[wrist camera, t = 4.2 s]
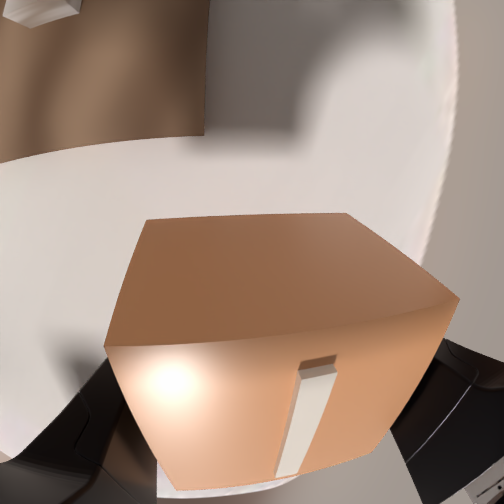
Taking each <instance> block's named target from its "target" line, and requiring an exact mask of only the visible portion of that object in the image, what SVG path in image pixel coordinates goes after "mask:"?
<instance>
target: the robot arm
mask: <svg viewBox="0 0 504 504" xmlns="http://www.w3.org/2000/svg"><path fill="white" fill-rule="evenodd" d="M79 392H80V393H79ZM79 392H78V393H77V394H76V395H75V396H74V398H73V399H72V400H71V401H70V402H69V404H68V405H67V406H66V407H65V408H64V409H63V410H62V412H61V413H60V414H59V415H58V416H57V417H56V418H55V419H54V420H53V421H52V422H51V423H50V424H49V425H48V426H47V427H46V428H45V429H44V430H43V431H42V432H41V433H40V434H39V435H38V436H37V437H36V438H35V439H34V440H33V441H32V442H31V443H30V444H29V445H28V446H27V447H26V448H25V449H24V450H23V451H22V452H21V453H20V454H19V455H17V456H16V457H15V458H13V459H11V460H9V461H7V462H3V463H0V504H157V459H156V457H155V456H154V454H153V452H152V450H151V449H150V447H149V445H148V443H147V441H146V440H145V438H144V436H143V434H142V432H141V430H140V428H139V426H138V424H137V422H136V420H135V418H134V416H133V414H132V412H131V410H130V408H129V406H128V404H127V402H126V399H125V397H124V395H123V393H122V391H121V388H120V386H119V384H118V381H117V379H116V376H115V374H114V372H113V369H112V367H111V364H110V362H109V359H108V357H107V358H106V359H105V361H104V362H103V363H102V364H101V365H100V367H99V368H98V369H97V370H96V371H95V372H94V374H93V375H92V376H91V377H90V378H89V380H88V381H87V382H86V383H85V384H84V386H83V387H82V388H81V389H80V391H79ZM390 430H391V433H392V435H393V437H394V439H395V441H396V443H397V446H398V448H399V450H400V452H401V455H402V457H403V459H404V461H405V463H406V466H407V468H408V471H409V473H410V475H411V477H412V479H413V482H414V484H415V486H416V489H417V491H418V493H419V496H420V498H421V501H422V503H423V504H440V503H442V502H443V501H445V500H446V499H448V498H450V497H451V496H453V495H454V494H455V493H457V492H458V491H460V490H461V489H463V488H464V489H465V491H466V492H467V494H468V496H469V497H470V499H471V501H472V502H473V504H474V503H477V504H504V362H501V361H498V360H496V359H493V358H490V357H487V356H485V355H483V354H480V353H477V352H475V351H472V350H470V349H467V348H465V347H463V346H461V345H458V344H456V343H454V342H452V341H450V340H448V339H445V338H443V339H442V341H441V343H440V345H439V347H438V349H437V351H436V353H435V355H434V357H433V359H432V361H431V362H430V364H429V366H428V368H427V370H426V372H425V373H424V375H423V377H422V379H421V380H420V382H419V384H418V385H417V387H416V389H415V391H414V392H413V394H412V395H411V397H410V399H409V400H408V402H407V403H406V405H405V406H404V408H403V410H402V411H401V413H400V414H399V416H398V417H397V418H396V420H395V421H394V423H393V424H392V426H391V427H390Z"/></svg>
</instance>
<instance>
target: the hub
mask: <svg viewBox="0 0 504 504" xmlns="http://www.w3.org/2000/svg"><path fill="white" fill-rule="evenodd" d="M459 300H460V299H459V298H458V297H457V296H456V295H455V294H454V293H452V292H451V291H450V290H449V289H448V288H447V287H445V286H444V285H443V284H441V283H440V282H439V281H438V280H437V279H435V278H434V277H433V276H432V275H430V274H429V273H428V272H427V271H425V270H424V269H423V268H422V267H420V266H419V265H418V264H416V263H415V262H414V261H413V260H411V259H410V258H409V257H407V256H406V255H405V254H403V253H402V252H401V251H399V250H398V249H397V248H395V247H394V246H393V245H391V244H390V243H388V242H387V241H386V240H384V239H383V238H382V237H380V236H379V235H377V234H376V233H375V232H373V231H372V230H370V229H369V228H367V227H366V226H365V225H363V224H362V223H360V222H359V221H357V220H356V219H354V218H353V217H352V216H350V215H349V214H347V213H301V214H258V215H230V216H207V217H187V218H169V219H153V220H146V222H145V225H144V227H143V230H142V232H141V235H140V237H139V240H138V242H137V245H136V248H135V250H134V253H133V256H132V258H131V261H130V264H129V267H128V270H127V272H126V275H125V278H124V281H123V284H122V287H121V290H120V293H119V296H118V299H117V303H116V306H115V309H114V312H113V315H112V319H111V322H110V326H109V329H108V333H107V336H106V340H105V343H104V348H105V351H106V354H107V356H108V359H109V362H110V364H111V367H112V369H113V372H114V374H115V376H116V379H117V381H118V384H119V386H120V388H121V391H122V393H123V395H124V397H125V399H126V402H127V404H128V406H129V408H130V410H131V412H132V414H133V416H134V418H135V420H136V422H137V424H138V426H139V428H140V430H141V432H142V434H143V436H144V438H145V440H146V441H147V443H148V445H149V447H150V449H151V450H152V452H153V454H154V456H155V457H156V459H157V461H158V463H159V464H160V466H161V468H162V469H163V471H164V472H165V474H166V476H167V477H168V479H169V480H170V482H171V483H172V485H173V487H174V488H175V490H176V491H179V490H203V489H216V488H227V487H235V486H243V485H250V484H256V483H263V482H268V481H273V480H279V479H283V478H288V477H293V476H297V475H301V474H305V473H309V472H313V471H316V470H320V469H323V468H327V467H330V466H334V465H337V464H340V463H343V462H346V461H349V460H352V459H355V458H358V457H361V456H363V455H366V454H368V453H371V452H372V451H373V450H374V448H375V447H376V446H377V445H378V443H379V442H380V441H381V439H382V438H383V437H384V435H385V434H386V432H387V431H388V430H389V428H390V427H391V426H392V424H393V423H394V421H395V420H396V418H397V417H398V416H399V414H400V413H401V411H402V410H403V408H404V406H405V405H406V403H407V402H408V400H409V399H410V397H411V395H412V394H413V392H414V391H415V389H416V387H417V385H418V384H419V382H420V380H421V379H422V377H423V375H424V373H425V372H426V370H427V368H428V366H429V364H430V362H431V361H432V359H433V357H434V355H435V353H436V351H437V349H438V347H439V345H440V343H441V341H442V339H443V337H444V334H445V332H446V330H447V328H448V326H449V324H450V321H451V319H452V317H453V314H454V312H455V310H456V307H457V305H458V303H459Z"/></svg>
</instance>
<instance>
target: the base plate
mask: <svg viewBox="0 0 504 504" xmlns="http://www.w3.org/2000/svg"><path fill="white" fill-rule="evenodd" d="M209 2H210V0H0V163H4V162H8V161H12V160H16V159H20V158H24V157H29V156H33V155H38V154H43V153H48V152H53V151H58V150H64V149H69V148H75V147H82V146H88V145H95V144H103V143H111V142H119V141H128V140H139V139H150V138H164V137H182V136H204V108H205V73H206V50H207V32H208V16H209Z"/></svg>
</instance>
